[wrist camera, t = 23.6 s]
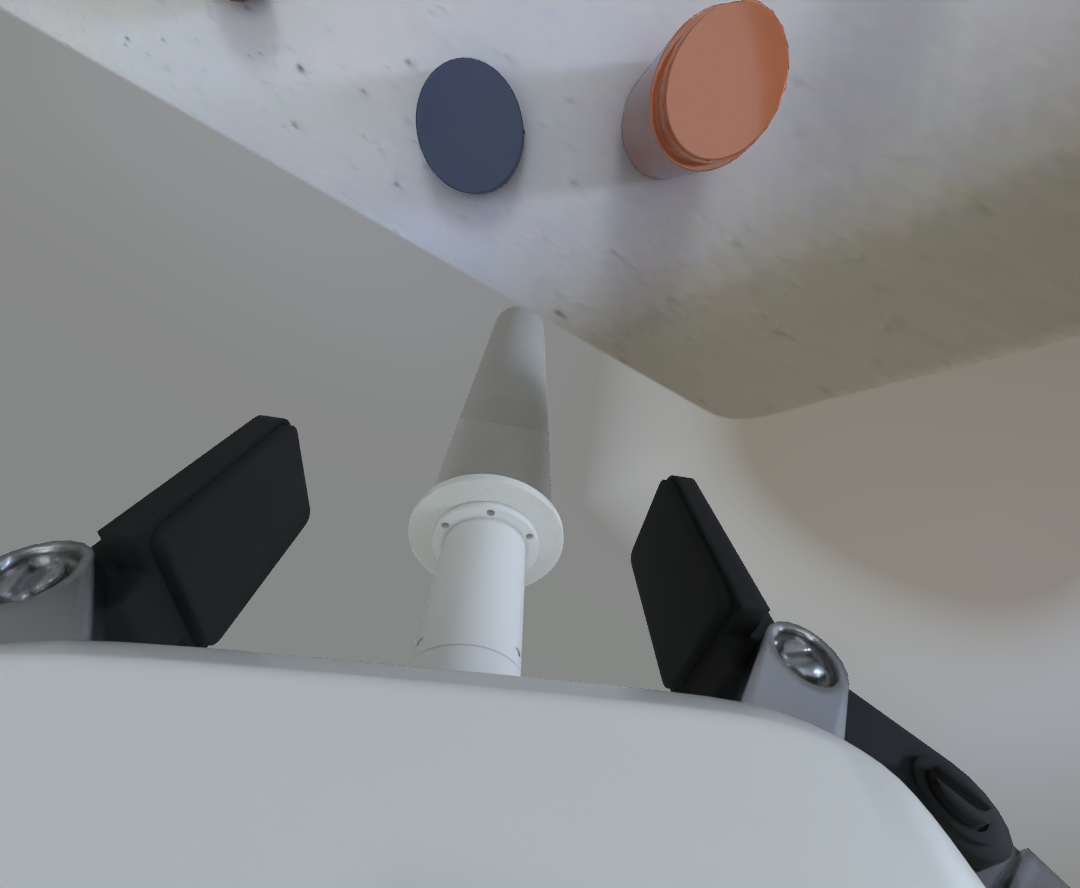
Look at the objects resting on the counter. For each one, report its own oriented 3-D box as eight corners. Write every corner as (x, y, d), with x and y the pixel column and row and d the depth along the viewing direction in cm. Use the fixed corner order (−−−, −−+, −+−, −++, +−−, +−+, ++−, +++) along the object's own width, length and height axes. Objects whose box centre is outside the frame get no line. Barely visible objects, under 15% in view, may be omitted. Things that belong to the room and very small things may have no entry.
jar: (696, 187, 28) (759, 180, 20) (611, 170, 28) (640, 156, 20) (733, 69, 25) (825, 5, 17) (637, 47, 25) (684, -30, 16)
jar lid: (522, 65, 25) (522, 56, 23) (526, 193, 29) (525, 192, 27) (414, 67, 25) (406, 58, 23) (431, 194, 29) (425, 194, 27)
